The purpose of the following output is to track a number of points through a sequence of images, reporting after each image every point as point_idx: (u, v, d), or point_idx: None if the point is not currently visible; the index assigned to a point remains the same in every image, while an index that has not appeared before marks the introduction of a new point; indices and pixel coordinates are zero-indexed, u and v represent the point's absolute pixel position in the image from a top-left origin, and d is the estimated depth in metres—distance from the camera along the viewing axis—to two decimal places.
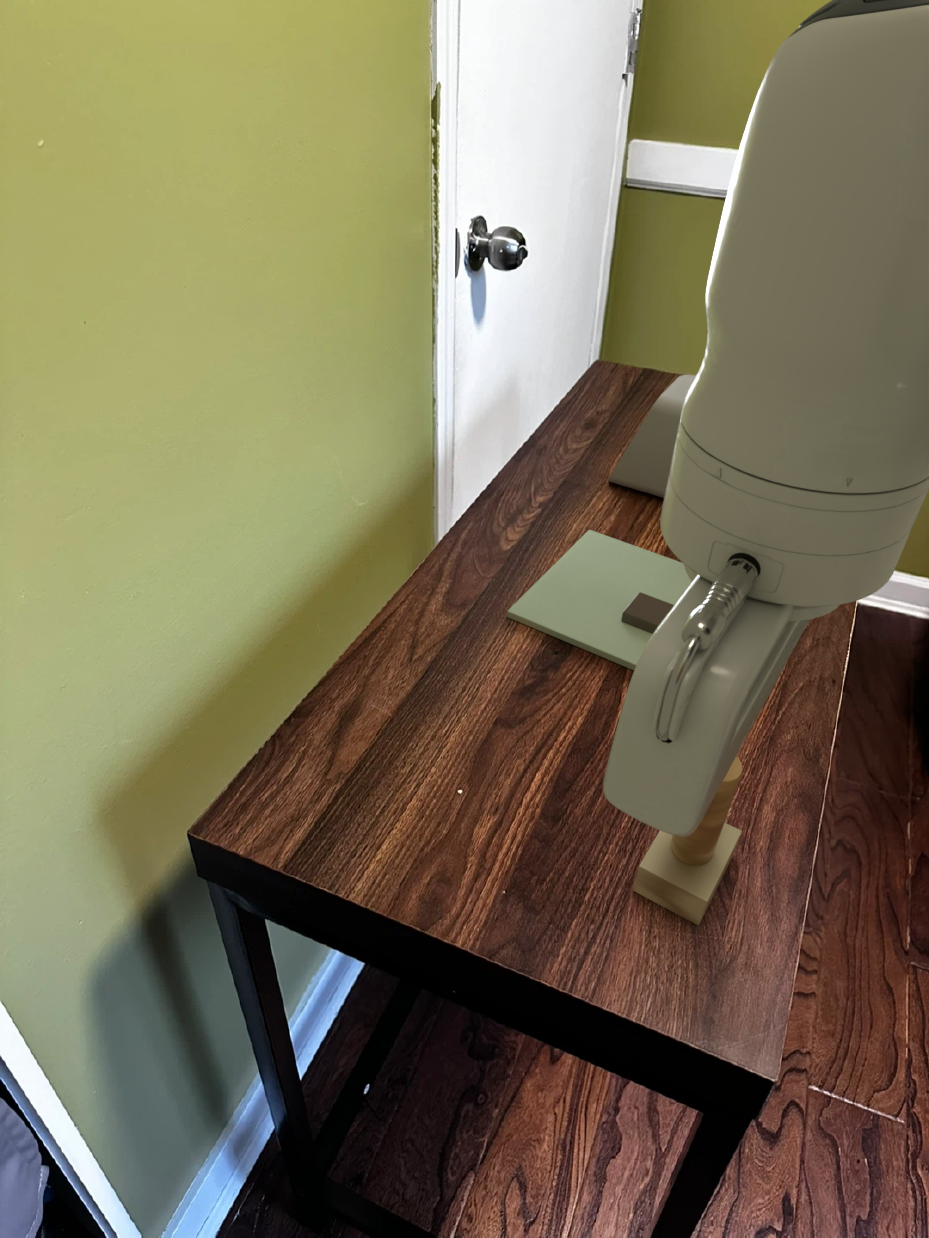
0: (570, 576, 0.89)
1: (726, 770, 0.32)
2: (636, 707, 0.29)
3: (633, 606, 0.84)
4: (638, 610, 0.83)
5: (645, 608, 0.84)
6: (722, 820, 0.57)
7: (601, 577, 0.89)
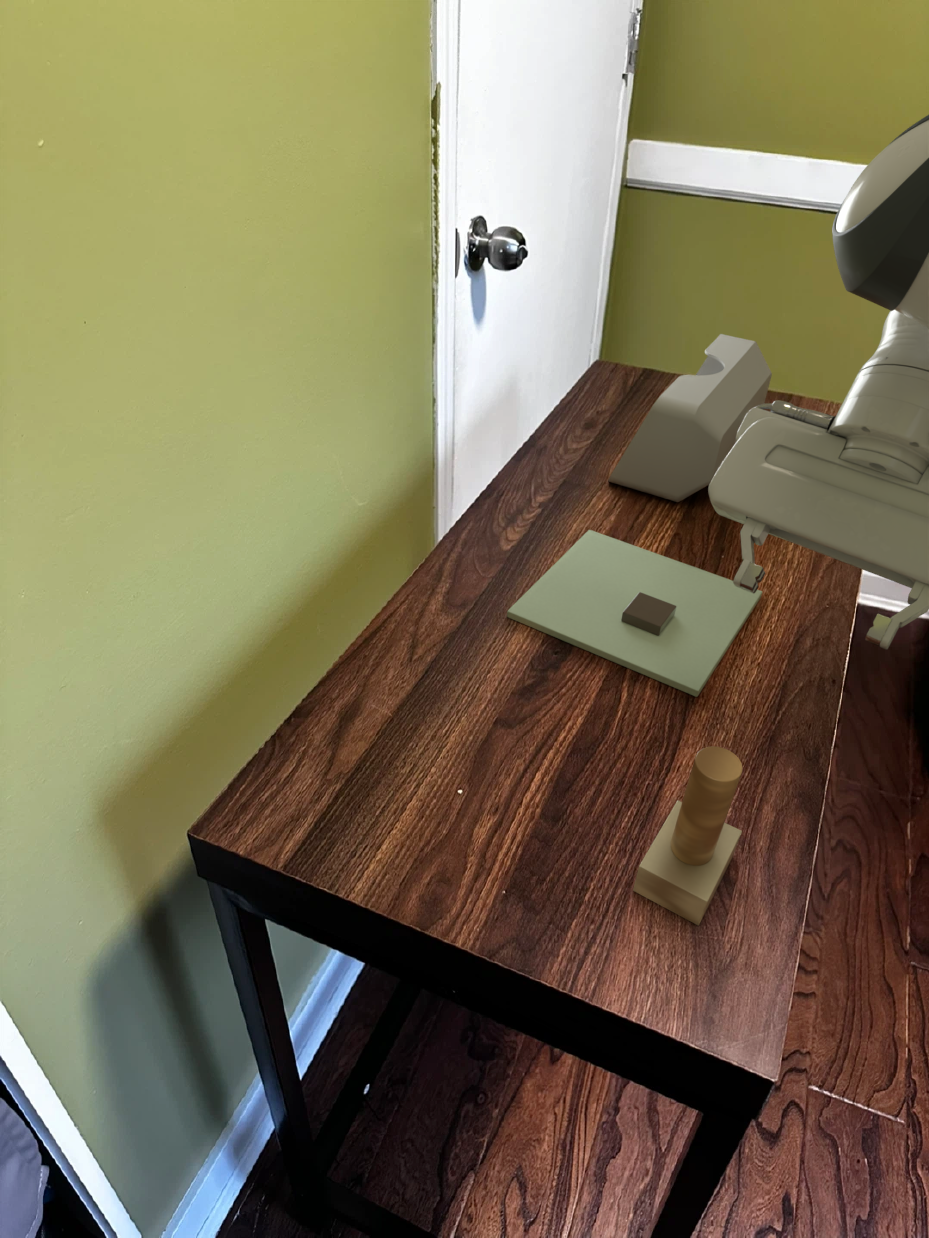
0: (570, 576, 0.89)
1: (755, 497, 0.61)
2: None
3: (633, 606, 0.84)
4: (638, 610, 0.83)
5: (645, 608, 0.84)
6: (722, 820, 0.57)
7: (601, 577, 0.89)
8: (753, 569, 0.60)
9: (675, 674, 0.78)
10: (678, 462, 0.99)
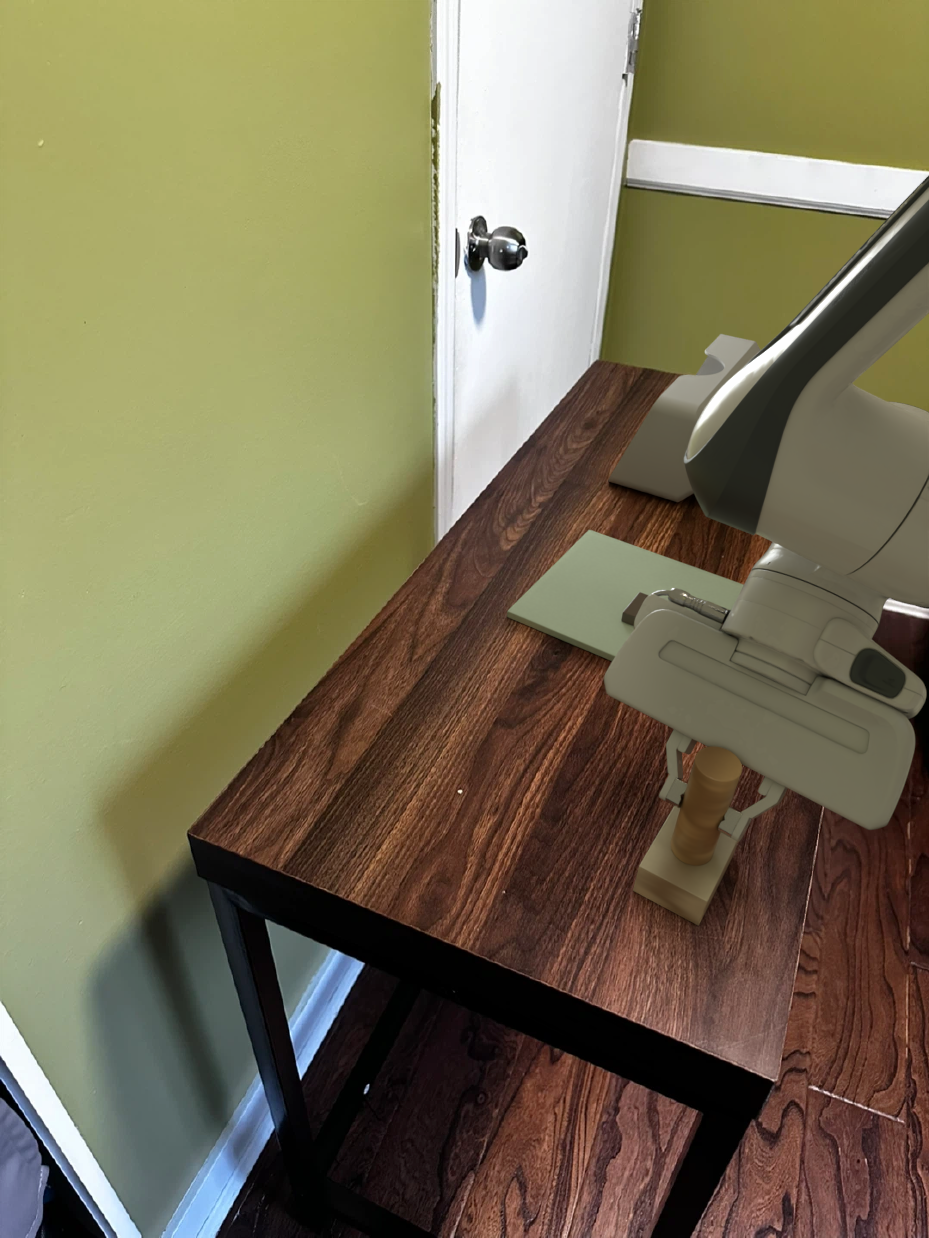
0: (570, 576, 0.89)
1: (648, 694, 0.59)
2: None
3: (633, 606, 0.84)
4: (638, 610, 0.83)
5: None
6: (722, 820, 0.57)
7: (601, 577, 0.89)
8: (678, 786, 0.58)
9: None
10: (678, 462, 0.99)
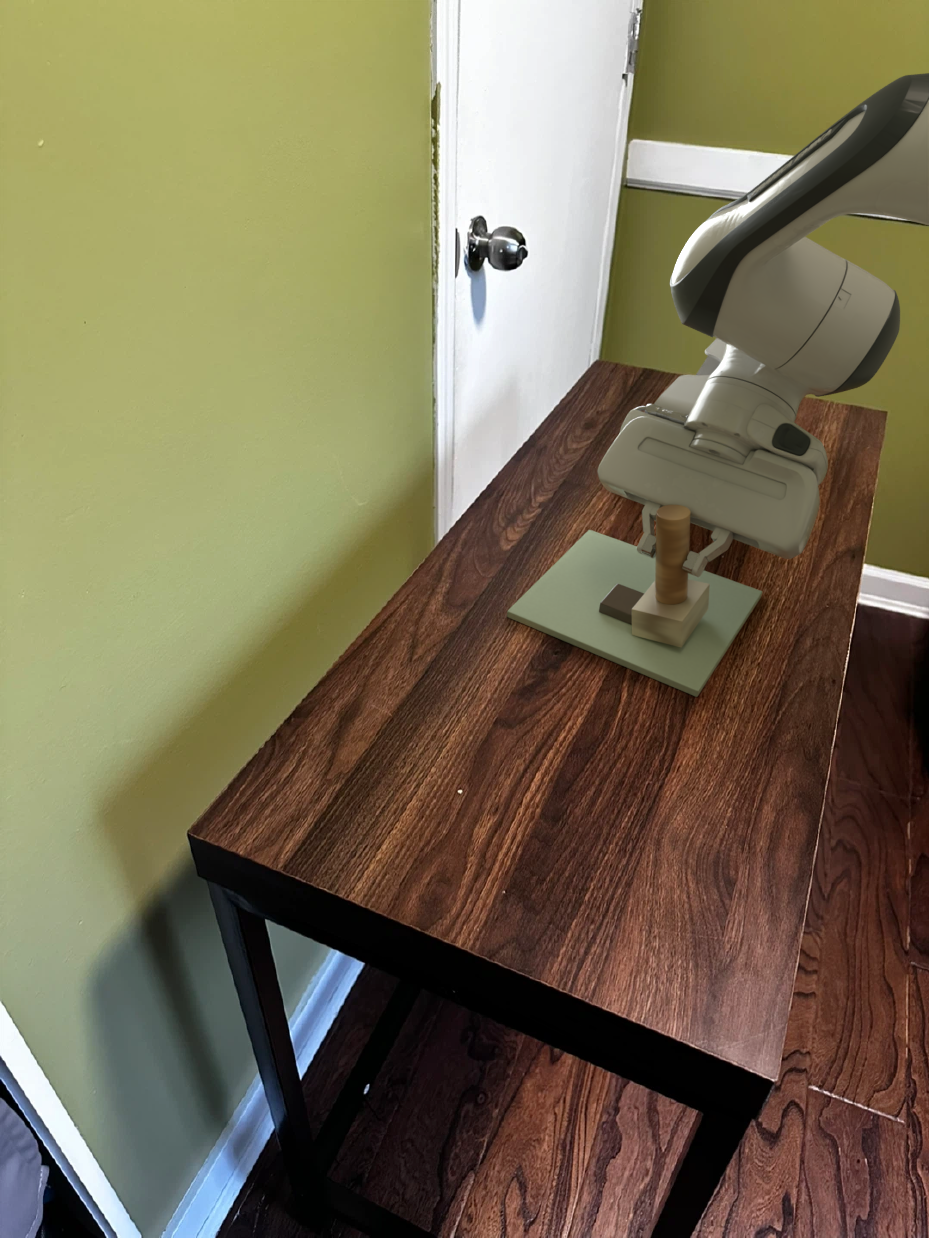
0: (570, 576, 0.89)
1: (630, 476, 0.81)
2: None
3: (610, 597, 0.85)
4: (615, 601, 0.84)
5: (622, 599, 0.85)
6: (684, 559, 0.78)
7: (601, 577, 0.89)
8: (650, 539, 0.79)
9: (675, 674, 0.78)
10: None
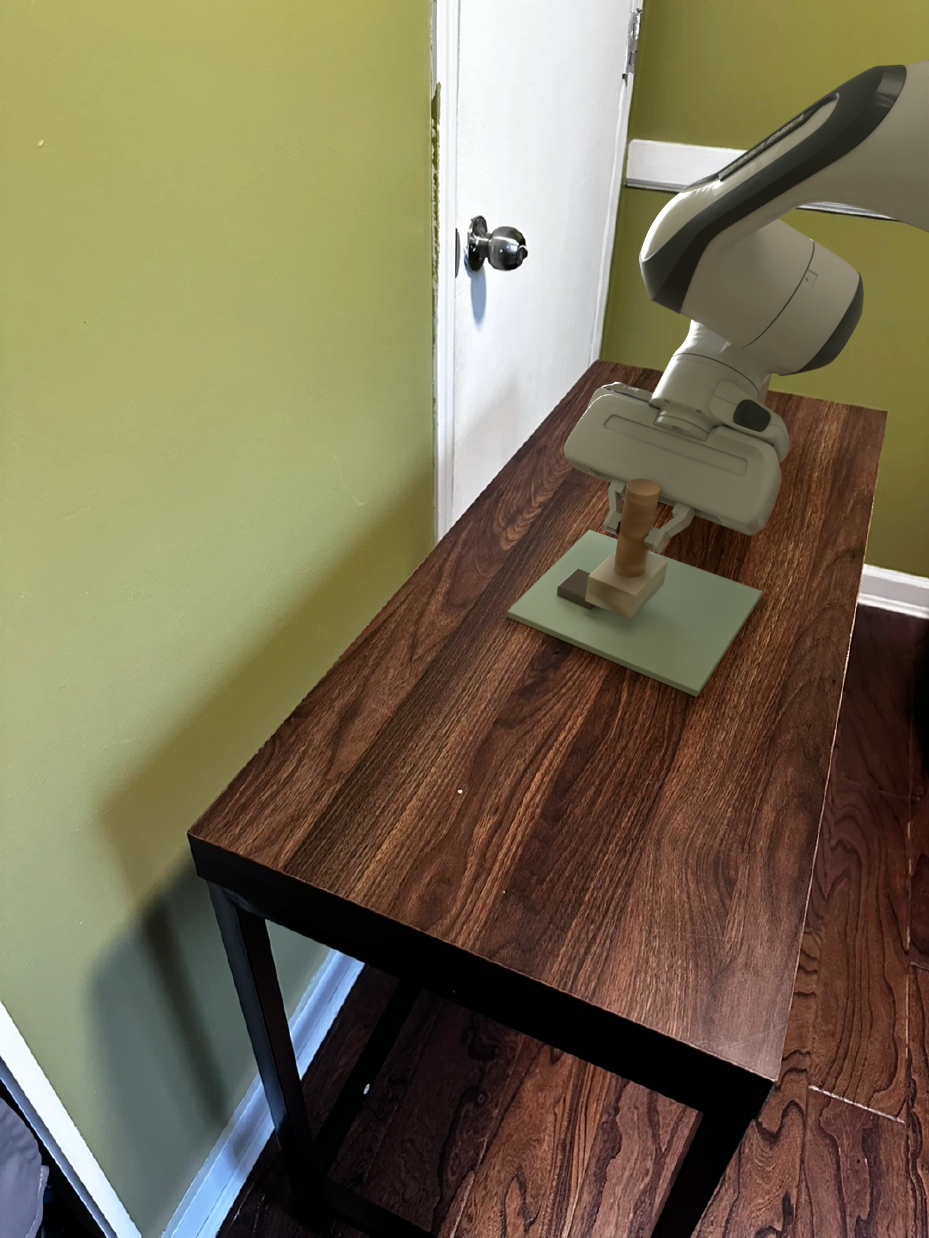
0: None
1: (595, 454, 0.81)
2: None
3: (568, 581, 0.87)
4: (573, 585, 0.86)
5: (580, 583, 0.86)
6: (647, 534, 0.78)
7: None
8: (616, 517, 0.80)
9: (675, 674, 0.78)
10: None
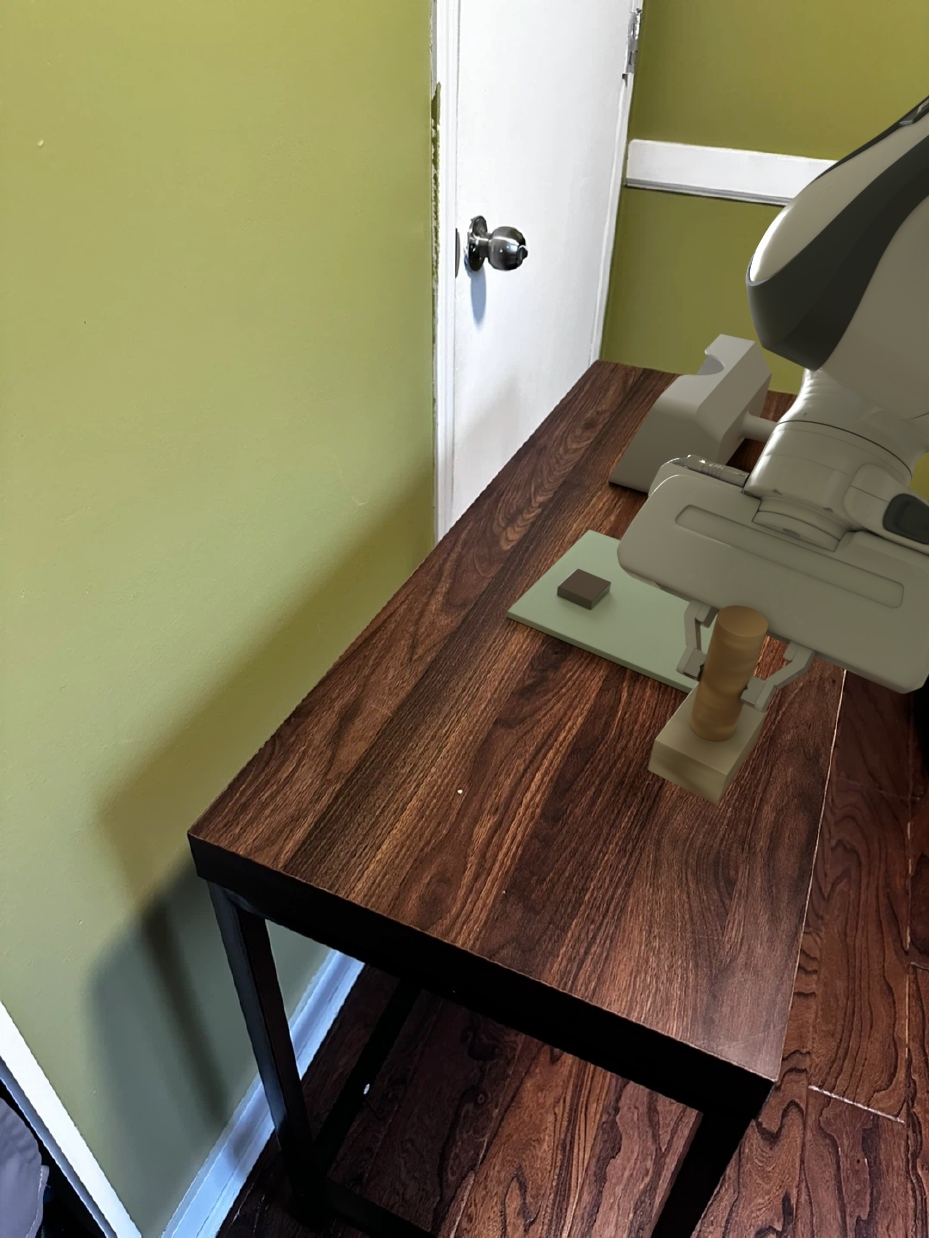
0: None
1: (664, 562, 0.56)
2: None
3: (568, 581, 0.87)
4: (573, 585, 0.86)
5: (580, 583, 0.86)
6: (745, 686, 0.53)
7: (601, 577, 0.89)
8: (697, 657, 0.54)
9: (675, 674, 0.78)
10: None
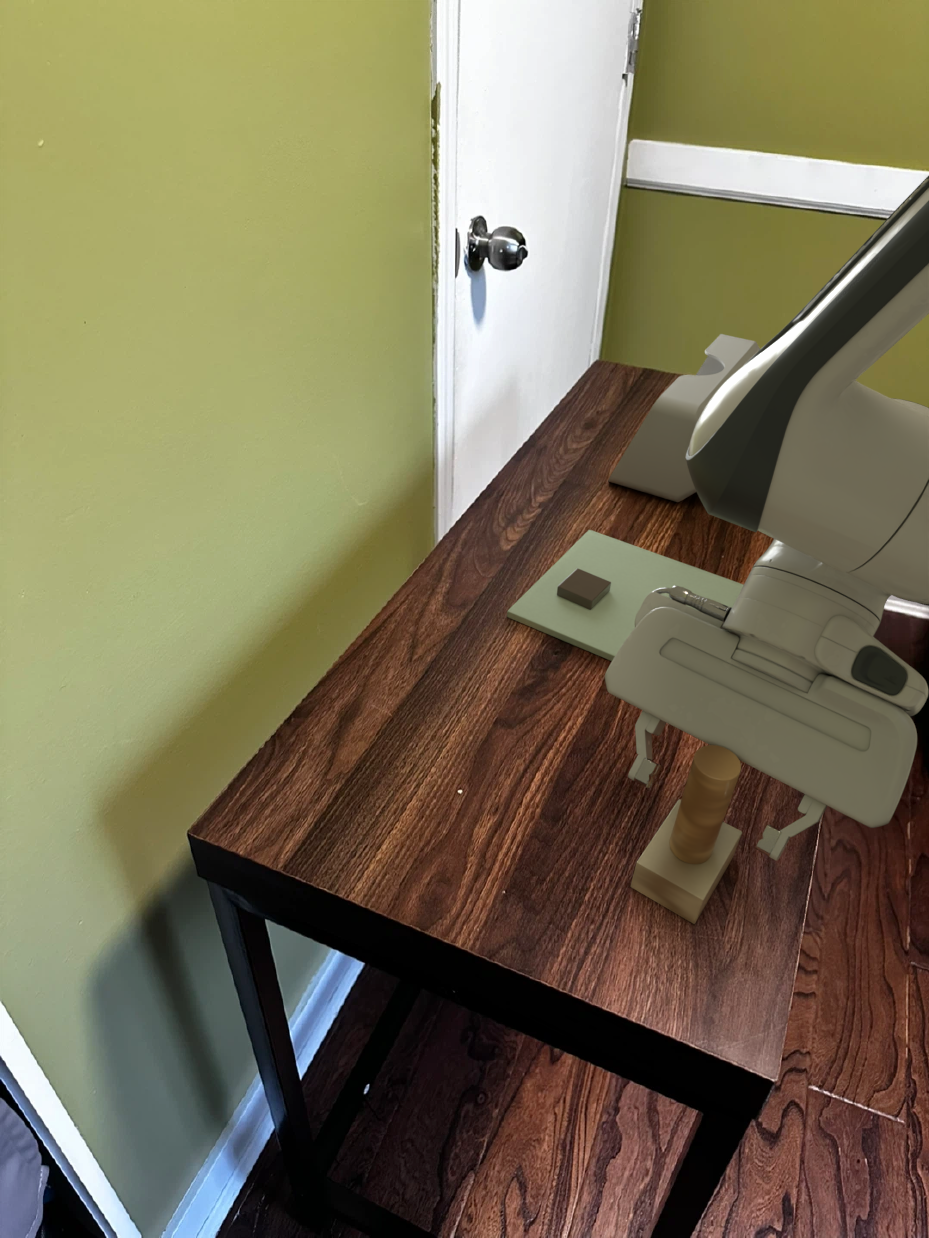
0: None
1: (649, 692, 0.59)
2: None
3: (568, 581, 0.87)
4: (573, 585, 0.86)
5: (580, 583, 0.86)
6: (720, 819, 0.57)
7: (601, 577, 0.89)
8: (646, 766, 0.59)
9: None
10: (678, 463, 0.99)
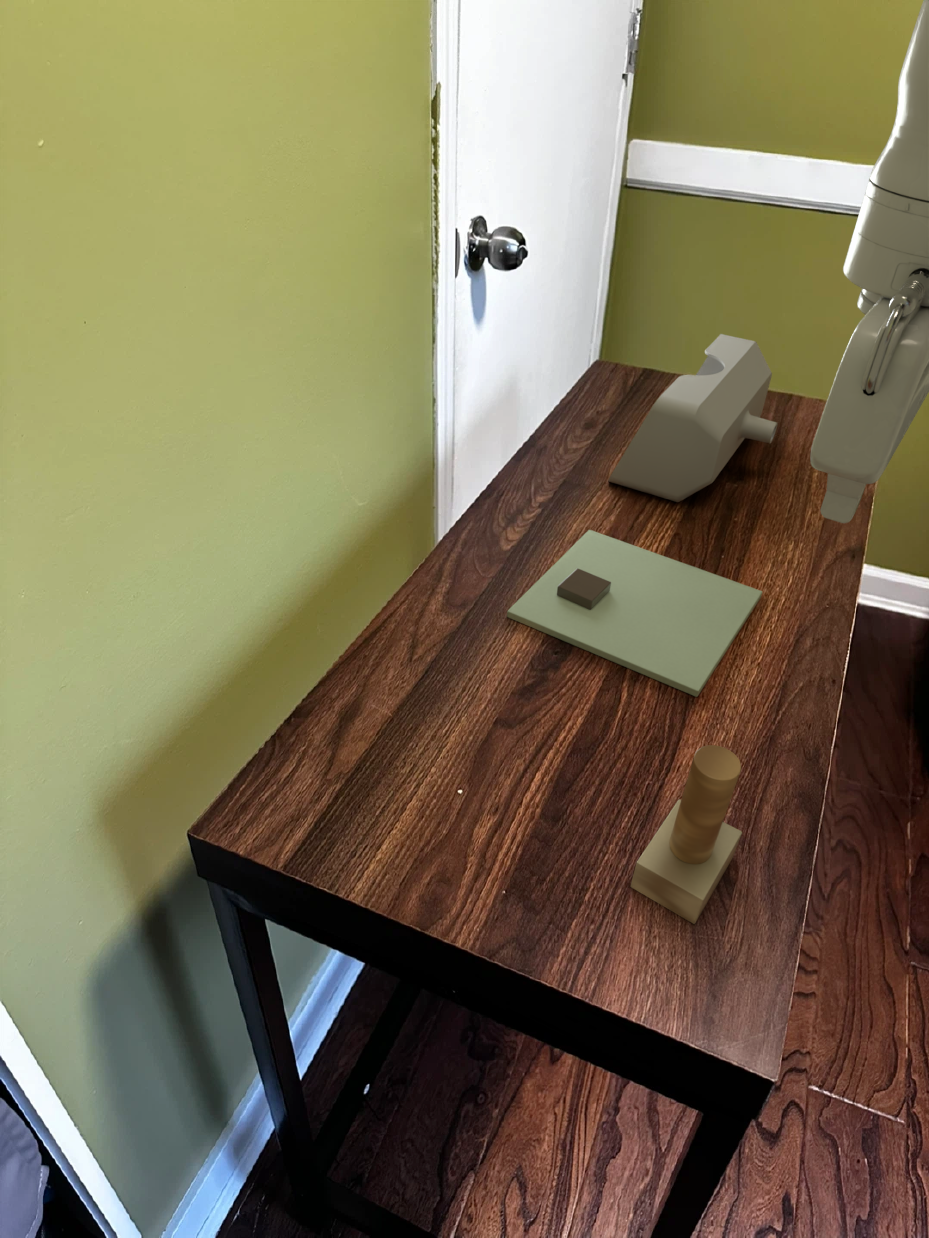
0: None
1: (897, 443, 0.45)
2: (848, 372, 0.41)
3: (568, 581, 0.87)
4: (573, 585, 0.86)
5: (580, 583, 0.86)
6: (720, 819, 0.57)
7: (601, 577, 0.89)
8: (860, 498, 0.49)
9: (675, 674, 0.78)
10: (678, 463, 0.99)
